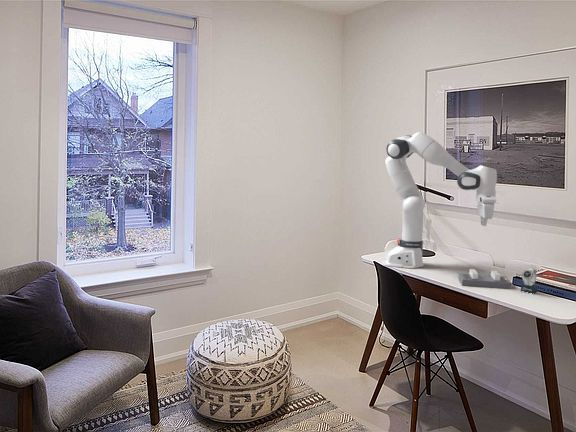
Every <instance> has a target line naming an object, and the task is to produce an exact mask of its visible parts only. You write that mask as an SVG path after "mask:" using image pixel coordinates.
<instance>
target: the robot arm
mask: <svg viewBox="0 0 576 432" xmlns="http://www.w3.org/2000/svg"><path fill="white" fill-rule="evenodd" d="M385 149H386V153H387V155H388V156H387V157H386V158H385V161H384V163H385V167H386V170H387V174H388V176H389V178H390V180H391V183H392V185H393V188H394V190H395V191H396V193H397V195H398V196H399V198H400V200H401V202H402V207H401V208H402V210H401V211H402V212H401V213H402V219H401V220H402V221H401V223H402V229H401V230H402V231H401V238H397V240H396V242H397V245H396V246H395V247H393V248H392V249H391V250H389V251H388V252H387V256H386V258H384V259H383V260H382V265H384V266H385V267H386V266H387V267H393V268H394V267H395V268H402V267H403V268H404V269H417V268H422V267H424V261H423V259H424V258H423V247H424V241H423V232H424V230H423V229H424V210H425V206H426V201H425V199H424V197H423V195H422V194H421V191H420V189H419V188H418V186H417V184H416V182H415V180H414V178H413V176H412V173H411V171H410V169H409V167H408V165H407V161H406V160H407V158H409V157H410V156H412V154H414V153H415V154H417V156H419V157H421V158H422V159H423V160H424V161H426V162H427V163H429V164H432V165H435V166H440V167H443V168H446V169H447V170H449V171H450V172H452V173H453V175H455V176H457V179H456V180H457V181H456V183H457V185H458V187H459V188H460V189H462V190H464V191H473V190H476V194H475V201H476V202H477V208H476V213H477V215H479V216H480V225H481V226H483V227H486V226H487V223H488V220H491V219H493V216H494V210H495V204H496V203H497V199H496V193H497V191H496V186H497V183H498V182H497V177H498V175H497V174H498V173H497V169H496V167H494V166H491V165H487V164H480V165H479V166H477V167H475V168H472V169H471V168H468V167H467V166H465V165H464V164H463V163H462V162H460V161H459V160H458V159H457V158H455V157H454V156H452V154H451V153H450V152H448V151H447V149H445V147H444V146H443V145H442V144H440V142H438V141H437V140H436V139H435V138H433V137H431V136H430V135H428V134H427V133H424V132H423V131H418V132H415V133H413V134H412V135H411V134H408V135H407V134H406V135H402V136H398V137H396V138H395V139H392V140H390V141H389V142H388V144H387V146H386V148H385Z"/></svg>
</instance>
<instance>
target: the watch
mask: <svg viewBox="0 0 576 432" xmlns="http://www.w3.org/2000/svg"><path fill="white" fill-rule="evenodd" d="M521 277H522V281H523V284H520V292H522V291H524V292H523V293H526V292H528V293H527V294H530V293H532V294H531V295H534V294H537V293H538V287H539V285H535V283H536V280H537V278H538V276H537V269H536V268H531V267H528V268H526V269H524V270H523V271H522V273H521ZM536 292H537V293H536ZM533 293H534V294H533Z"/></svg>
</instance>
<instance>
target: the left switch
mask: <svg viewBox="0 0 576 432" xmlns="http://www.w3.org/2000/svg"><path fill="white" fill-rule="evenodd" d="M468 274H469V275H470V276H471V277H472V279H478V275H479V273H478V272H477V270H476V269H474V268H469V273H468Z"/></svg>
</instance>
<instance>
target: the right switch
mask: <svg viewBox="0 0 576 432" xmlns="http://www.w3.org/2000/svg"><path fill="white" fill-rule="evenodd" d="M490 275H491V277H492V278H493V279H494V280H495V281H500V276H501V274H500V273H499V272H498V271H497V270H490Z"/></svg>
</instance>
